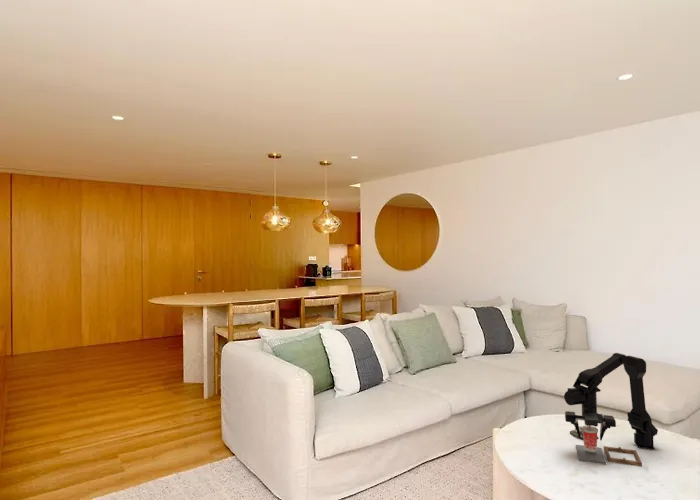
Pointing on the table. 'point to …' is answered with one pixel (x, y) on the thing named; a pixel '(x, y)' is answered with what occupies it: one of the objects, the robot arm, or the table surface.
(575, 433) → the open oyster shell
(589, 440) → the beverage cup
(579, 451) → the rubber mat
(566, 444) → the table surface
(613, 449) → the socket collar
